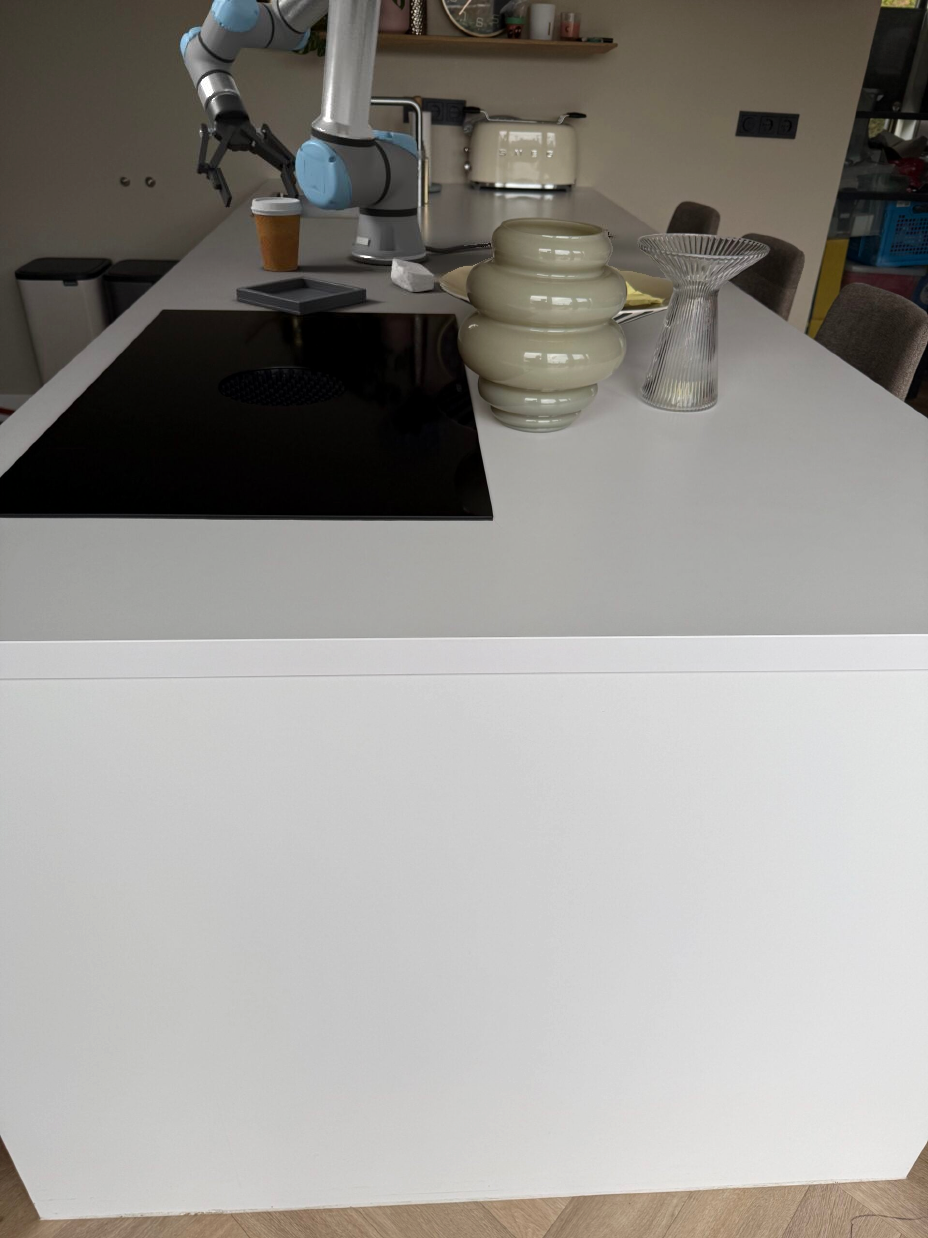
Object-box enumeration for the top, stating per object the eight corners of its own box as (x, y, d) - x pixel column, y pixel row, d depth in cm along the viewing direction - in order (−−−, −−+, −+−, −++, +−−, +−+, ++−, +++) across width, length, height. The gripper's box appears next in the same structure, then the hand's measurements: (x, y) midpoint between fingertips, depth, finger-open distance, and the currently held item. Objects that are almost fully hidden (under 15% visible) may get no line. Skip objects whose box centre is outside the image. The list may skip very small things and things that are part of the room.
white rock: (427, 311, 163) (439, 281, 159) (394, 302, 160) (405, 272, 157) (417, 282, 169) (428, 253, 166) (385, 274, 167) (395, 244, 163)
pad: (304, 287, 161) (303, 275, 160) (366, 301, 153) (366, 288, 152) (236, 300, 150) (235, 287, 149) (300, 315, 143) (299, 302, 142)
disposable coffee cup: (245, 269, 173) (239, 200, 167) (273, 262, 181) (268, 195, 175) (289, 274, 170) (284, 204, 164) (315, 266, 178) (311, 199, 172)
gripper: (278, 121, 186) (316, 210, 184) (157, 121, 174) (196, 217, 171) (288, 92, 180) (327, 184, 177) (163, 90, 167) (203, 189, 165)
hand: (262, 200), depth 174 cm, fingers open, 13 cm apart
